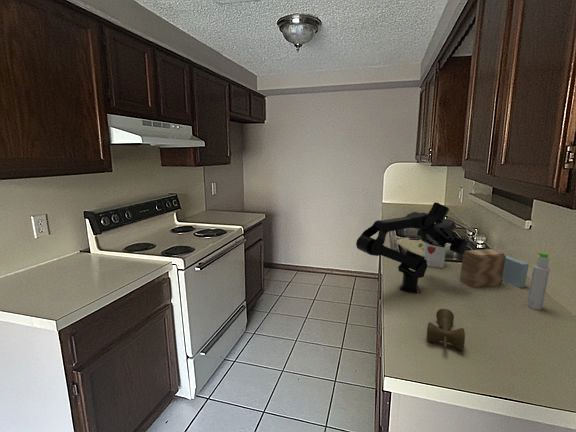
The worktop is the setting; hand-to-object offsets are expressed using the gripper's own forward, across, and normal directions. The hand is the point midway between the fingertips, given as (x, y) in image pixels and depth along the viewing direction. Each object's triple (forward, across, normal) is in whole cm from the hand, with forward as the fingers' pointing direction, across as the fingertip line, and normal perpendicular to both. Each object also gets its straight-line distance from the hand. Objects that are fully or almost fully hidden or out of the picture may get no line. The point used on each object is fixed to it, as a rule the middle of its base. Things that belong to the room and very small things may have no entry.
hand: (453, 249), depth 134 cm
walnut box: (+16, -7, +6) cm, 18 cm away
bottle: (+14, -29, +7) cm, 33 cm away
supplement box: (+16, +17, +6) cm, 24 cm away
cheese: (+16, +31, +6) cm, 35 cm away
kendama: (-24, -30, +34) cm, 51 cm away
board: (+26, -10, -1) cm, 28 cm away
